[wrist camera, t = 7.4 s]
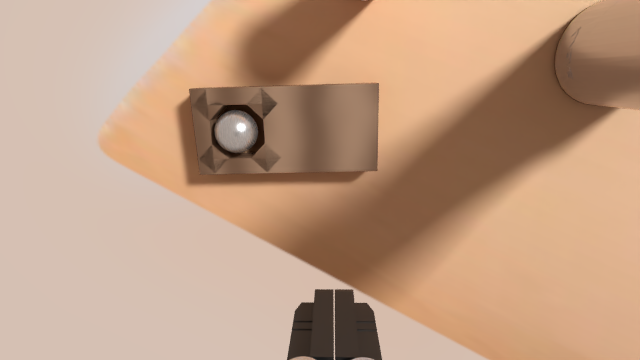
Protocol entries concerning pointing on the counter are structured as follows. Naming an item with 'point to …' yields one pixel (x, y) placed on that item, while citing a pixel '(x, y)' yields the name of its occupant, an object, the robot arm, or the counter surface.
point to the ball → (236, 131)
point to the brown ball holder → (293, 128)
